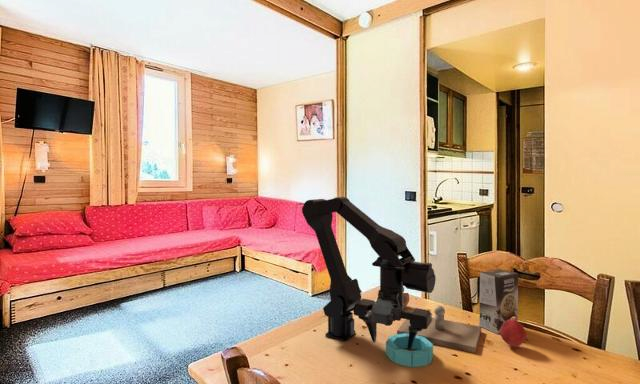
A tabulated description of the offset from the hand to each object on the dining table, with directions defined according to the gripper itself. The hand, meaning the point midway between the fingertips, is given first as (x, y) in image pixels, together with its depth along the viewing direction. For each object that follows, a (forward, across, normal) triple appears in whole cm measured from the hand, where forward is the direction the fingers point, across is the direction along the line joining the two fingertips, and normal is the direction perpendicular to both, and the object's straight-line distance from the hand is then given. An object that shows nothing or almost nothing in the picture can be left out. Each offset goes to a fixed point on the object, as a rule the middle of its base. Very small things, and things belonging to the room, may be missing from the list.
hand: (391, 346), depth 89 cm
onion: (+1, +26, +17) cm, 32 cm away
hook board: (+1, +8, +16) cm, 18 cm away
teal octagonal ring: (+1, +4, 0) cm, 5 cm away
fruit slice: (+2, -8, +30) cm, 31 cm away
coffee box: (+2, +23, +29) cm, 37 cm away
